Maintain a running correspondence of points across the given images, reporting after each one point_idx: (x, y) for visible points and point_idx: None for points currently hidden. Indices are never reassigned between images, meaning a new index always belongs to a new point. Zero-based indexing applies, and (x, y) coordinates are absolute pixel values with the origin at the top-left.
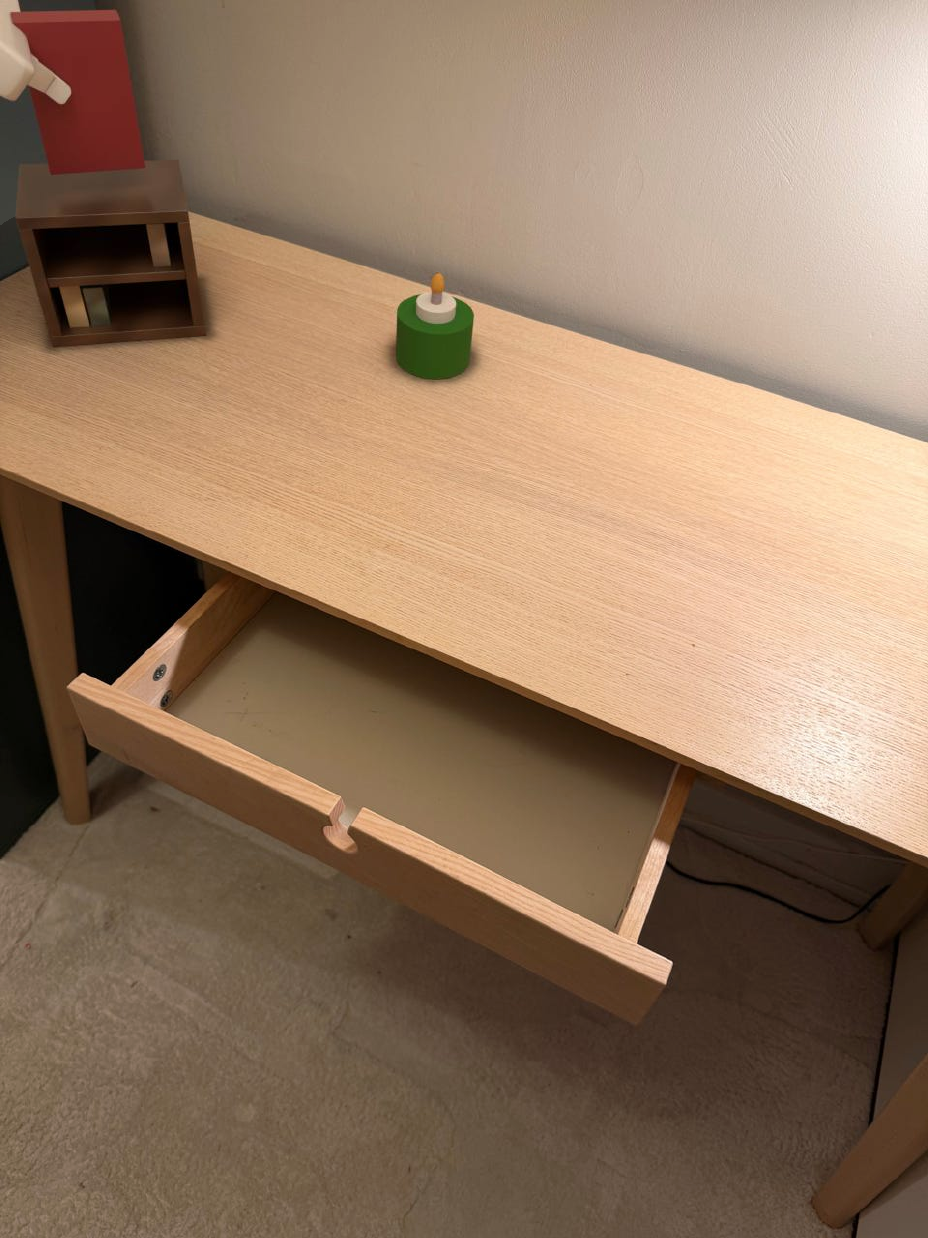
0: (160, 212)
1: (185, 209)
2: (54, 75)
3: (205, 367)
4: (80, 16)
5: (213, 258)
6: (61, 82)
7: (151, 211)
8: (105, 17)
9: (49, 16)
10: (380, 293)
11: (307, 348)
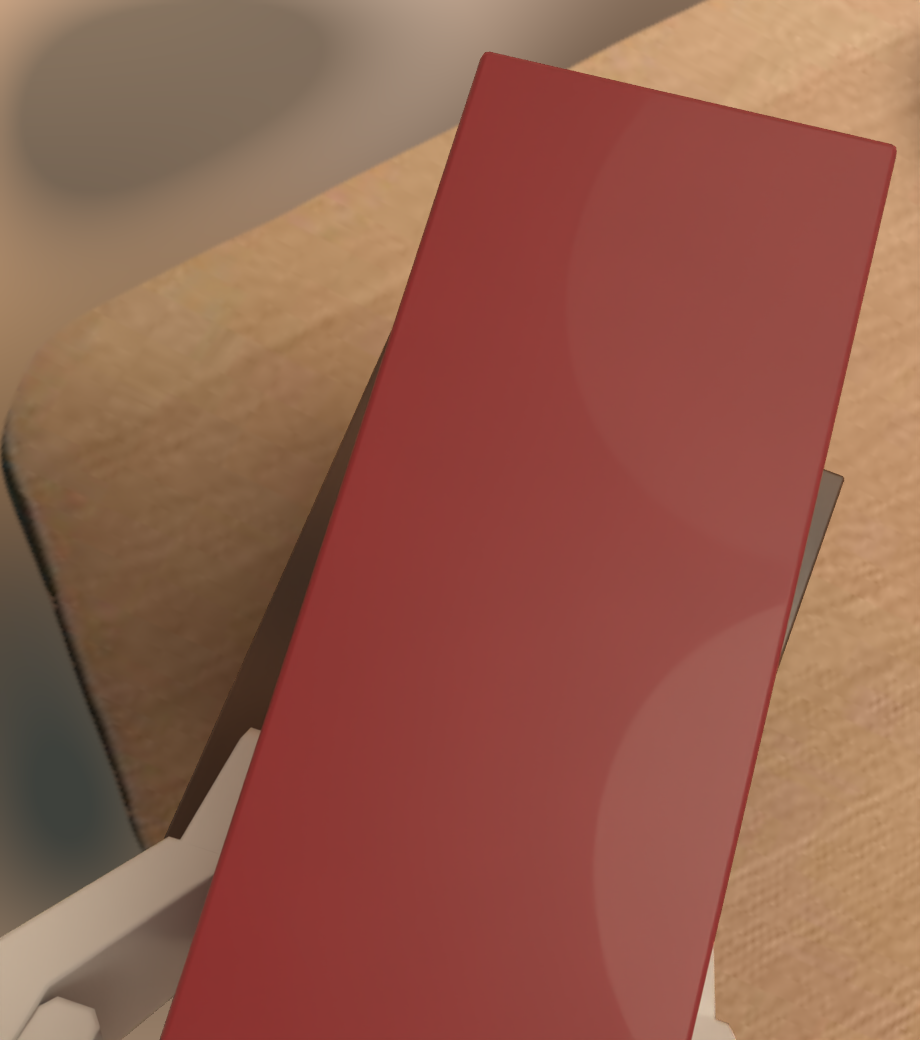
0: (809, 576)
1: (836, 481)
2: (720, 1028)
3: (843, 622)
4: (594, 582)
5: (352, 356)
6: (713, 956)
7: (795, 606)
8: (762, 286)
9: (444, 1028)
10: (728, 77)
11: (880, 360)
